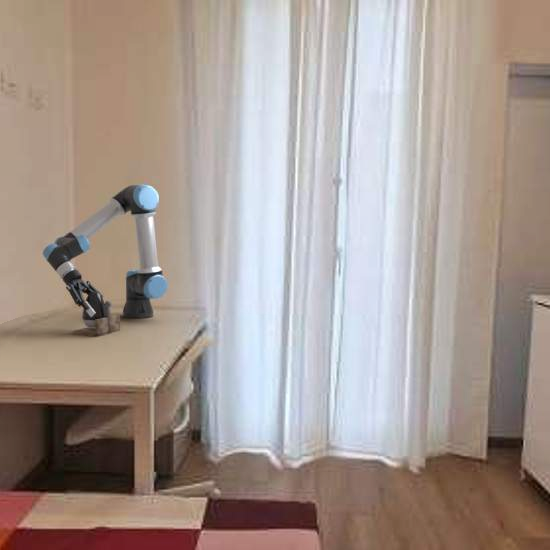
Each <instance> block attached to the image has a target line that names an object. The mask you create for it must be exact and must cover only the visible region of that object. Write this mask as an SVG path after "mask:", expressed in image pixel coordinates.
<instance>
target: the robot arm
mask: <svg viewBox="0 0 550 550" xmlns="http://www.w3.org/2000/svg"><path fill="white" fill-rule="evenodd" d="M159 196H160V195H159V194H158V192H157V190H156V189H155V188H154V187H153V186H151V185H147V184H139V185H138V184H134V185H133V184H132V185H128V186H126V187H125V188H123V189H122V190H120V191H119V192H118V193H116V194H115V195H114V196H112V197H111V198H110V199H109V202H108V203H106V205H104V206H102V207H101V208H100V209H99V210H97V211H96V212H94V214H91V216H89V217H88V218H87V219H85V220H84V221H82V222H80V224H79V225H77V226H75V227H74V228H73V229H72V230H70V231H69V232H68V233H66V234H65V235H63V236H60V237H58V238H56V239H55V240H54V243H50V244H48V245H47V246H46V247H44V249H43V251H42V255H43V257H44V259H45V260H46V262H47V263H48V264H49V265H50V266H51V267H52V268H53V270H54V271H55V272H56V273H57V274H58V276H59V278H60V279H62V281H63V283H64V284H65V285H66V287H65V289H66V290H67V291H68V292H69V295H71V298H72V300H73V302H74V304H75V305H77V306H78V307H82V309H83V308H84V309H85V310H86V312H87V313H88V314H89V315H90V317H92V316H93V315H94V314H95V313H96V312H95V311H94V310H93V309H92V307H91V306H90V305H89V304H88V302H87V301H86V299H85V297H84V294H86V295H87V296H88V295H89V293H91V292H93V291H96V292H100V291H99V290H98V289H97V288H96V287H94V285H92V284H91V282H90V281H89V280H87V281H84V280H83V279H82V276H83V275H82V273H80V271H79V269H77V268H76V266H75V265H74V264H73V263H72V260H73V259H75V258H76V257H78V256H81V255H82V254H84V253H86V252H87V251H89V250H90V249H91V243H90V240H89V239H90V238H91V237H93V236H94V235H96V233H98V232H99V231H101V230H102V229H103V228H104V227H106V226H107V225H108V224H110V223H111V222H112V221H114V220H115V219H116V218H118V217H119V216H124V215H126V213H128V212H130V215H131V216H132V217H133V218H134V223H135V233H136V241H137V249H138V258H139V269H136V270H135V269H133V270H128V271H127V272H126V275H125V296H126V297H125V303H124V306H123V310H122V317H123V318H127V319H128V318H129V319H146V318H151V317H154V309H153V306H152V302H151V300H158V299H160V298H162V297H163V296H164V295H165V294H166V293H167V291H168V281H167V279H166V278H165V277H164V276H163V269H162V268H161V267H160V266H159V261H158V260H159V259H158V251H157V250H158V248H157V241H156V232H155V231H156V229H155V222H154V216H155V215H156V213H157V208H156V207H157V206H158V205H159ZM83 293H84V294H83ZM100 295H101V296H102V298H104V295H103V293H101V292H100ZM104 304H105V302H104ZM105 308H106V307H105Z"/></svg>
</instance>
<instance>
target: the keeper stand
mask: <svg viewBox="0 0 550 550" xmlns="http://www.w3.org/2000/svg"><path fill="white" fill-rule="evenodd" d="M104 303H105V307H106V317H104V318H100V319H96V320H95V328H93V327H88V326H86V327H83V328H79V329H75V330H72V331H71V335H77V334H81V335H80V336H87V335H91V336H90V337H97V336H98V337H101V336H106V335H110V334H112V332H113V333H116V331H117V332H120V331H121V314H113V315H111V307H112V302H111V301H110V300H106V301H104ZM109 333H110V334H109ZM105 334H106V335H105Z"/></svg>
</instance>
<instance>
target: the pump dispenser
mask: <svg viewBox="0 0 550 550" xmlns="http://www.w3.org/2000/svg"><path fill="white" fill-rule="evenodd" d="M100 293H101V292H100V291H99V292H96V291H93V292H91V293H89V295H87V296H86V299H85V301H87V302H88V304H89V305H90V306H91V307H92V309H93V310H94V311H95V312H96V313H95V314H94V315H93V316H92V317H90V315H89V314H88V313H87V312H86V310H85V309H84V308H83V307H82V313H81V314H82V315H81V319H82V321H83V323H84V325H85V326H86V327H93V328H95V320H96V319H100V318H104V317H106V308H105V304H104V303H105V301H104V299H103V298H104V297H102V296H101V295H100Z"/></svg>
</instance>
